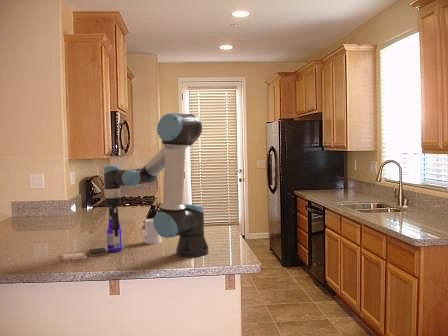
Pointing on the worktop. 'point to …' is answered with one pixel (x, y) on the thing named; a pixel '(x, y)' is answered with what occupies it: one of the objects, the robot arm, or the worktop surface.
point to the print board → (73, 255)
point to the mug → (150, 233)
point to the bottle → (112, 246)
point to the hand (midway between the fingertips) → (114, 240)
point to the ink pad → (97, 252)
